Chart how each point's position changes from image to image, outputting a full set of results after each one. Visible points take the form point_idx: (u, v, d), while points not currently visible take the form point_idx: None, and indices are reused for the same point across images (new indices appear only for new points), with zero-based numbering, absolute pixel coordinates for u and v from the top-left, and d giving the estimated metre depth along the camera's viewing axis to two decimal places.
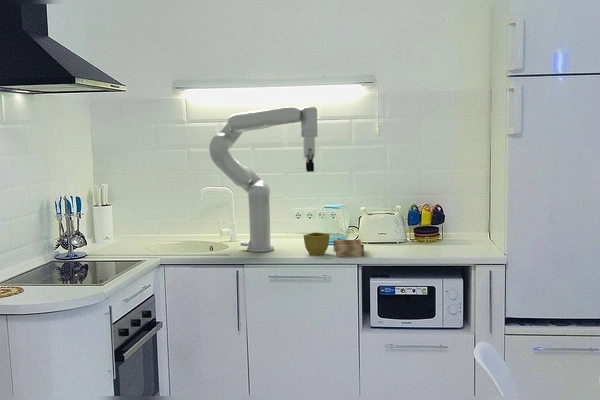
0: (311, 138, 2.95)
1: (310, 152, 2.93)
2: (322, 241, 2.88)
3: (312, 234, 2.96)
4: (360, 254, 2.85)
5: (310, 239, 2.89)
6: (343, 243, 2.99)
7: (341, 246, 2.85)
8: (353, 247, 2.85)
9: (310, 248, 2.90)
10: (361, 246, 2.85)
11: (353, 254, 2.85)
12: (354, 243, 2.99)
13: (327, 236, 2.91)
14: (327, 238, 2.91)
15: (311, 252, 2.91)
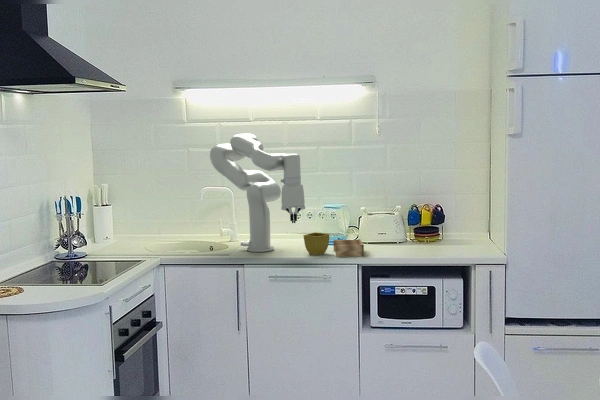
0: None
1: (304, 205, 2.90)
2: (322, 241, 2.88)
3: (312, 234, 2.96)
4: (360, 254, 2.85)
5: (310, 239, 2.89)
6: (343, 243, 2.99)
7: (341, 246, 2.85)
8: (353, 247, 2.85)
9: (310, 248, 2.90)
10: (361, 246, 2.85)
11: (353, 254, 2.85)
12: (354, 243, 2.99)
13: (327, 236, 2.91)
14: (327, 238, 2.91)
15: (311, 252, 2.91)
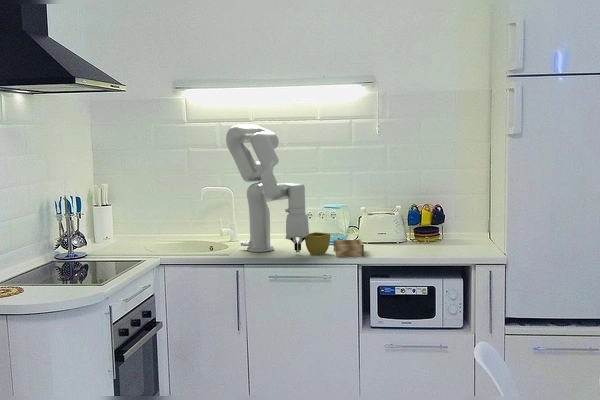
0: (306, 215, 2.91)
1: None
2: (323, 241, 2.88)
3: (313, 234, 2.96)
4: (360, 254, 2.85)
5: (311, 239, 2.89)
6: (343, 243, 2.99)
7: (341, 246, 2.85)
8: (353, 247, 2.85)
9: (311, 248, 2.90)
10: (361, 246, 2.85)
11: (353, 254, 2.85)
12: (354, 243, 2.99)
13: (328, 236, 2.91)
14: (328, 238, 2.91)
15: (312, 252, 2.91)
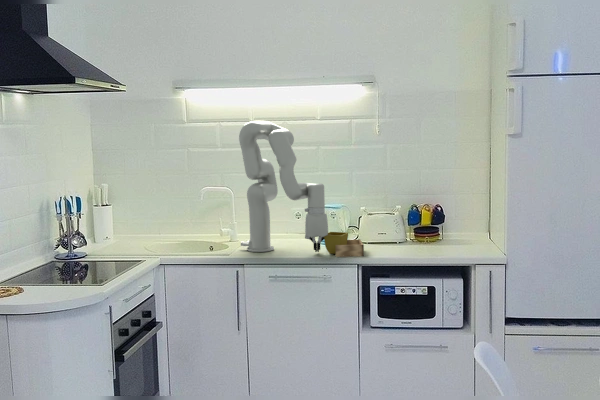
0: None
1: None
2: (343, 240, 2.90)
3: (329, 233, 2.96)
4: (360, 254, 2.85)
5: (331, 238, 2.89)
6: None
7: (341, 246, 2.85)
8: (353, 247, 2.85)
9: (331, 247, 2.90)
10: (361, 246, 2.85)
11: (353, 254, 2.85)
12: (354, 243, 2.99)
13: (346, 235, 2.93)
14: (346, 237, 2.93)
15: (331, 251, 2.91)
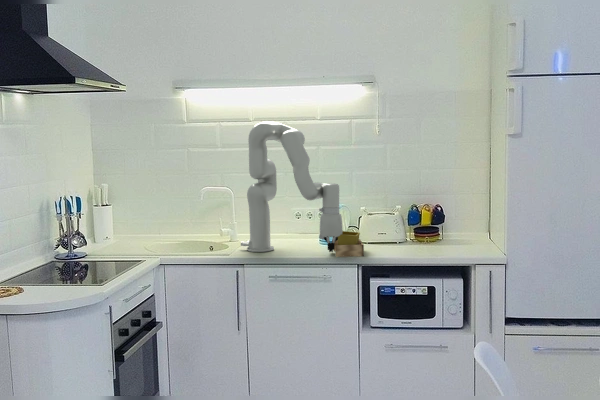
0: None
1: None
2: (357, 240, 2.91)
3: None
4: (360, 254, 2.85)
5: (346, 238, 2.89)
6: None
7: (341, 246, 2.85)
8: (353, 247, 2.85)
9: None
10: (361, 246, 2.85)
11: (353, 254, 2.85)
12: None
13: None
14: (358, 237, 2.94)
15: None
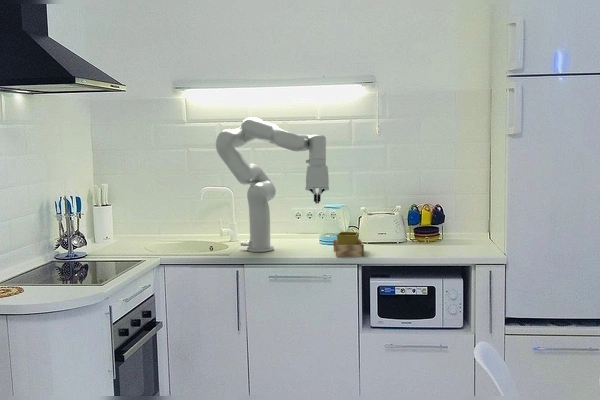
0: None
1: (328, 187, 2.93)
2: (356, 240, 2.91)
3: (340, 233, 2.96)
4: (360, 254, 2.85)
5: (345, 238, 2.89)
6: None
7: (341, 246, 2.85)
8: (353, 247, 2.85)
9: None
10: (361, 246, 2.85)
11: (353, 254, 2.85)
12: None
13: (358, 234, 2.94)
14: (358, 236, 2.94)
15: None
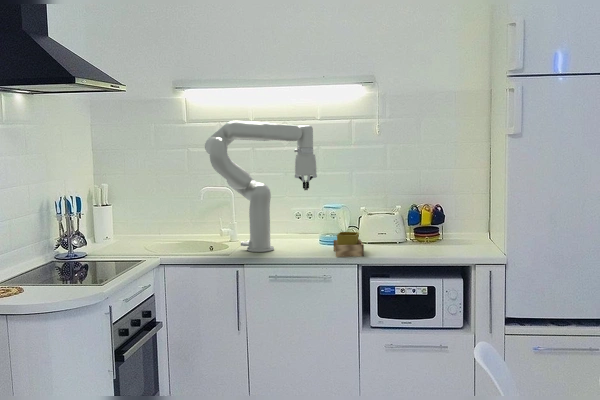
0: None
1: (316, 174, 3.10)
2: (356, 240, 2.91)
3: (340, 233, 2.96)
4: (360, 254, 2.85)
5: (345, 238, 2.89)
6: None
7: (341, 246, 2.85)
8: (353, 247, 2.85)
9: None
10: (361, 246, 2.85)
11: (353, 254, 2.85)
12: None
13: (358, 234, 2.94)
14: (358, 236, 2.94)
15: None
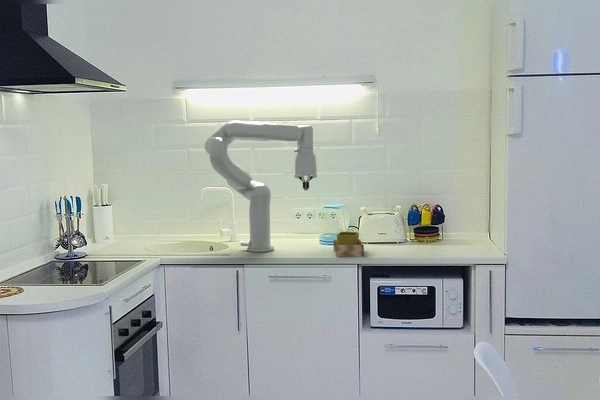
0: None
1: (316, 174, 3.10)
2: (356, 240, 2.91)
3: (340, 234, 2.96)
4: (360, 254, 2.85)
5: (345, 238, 2.89)
6: None
7: (341, 246, 2.85)
8: (353, 247, 2.85)
9: None
10: (361, 246, 2.85)
11: (353, 254, 2.85)
12: None
13: (358, 234, 2.94)
14: (358, 236, 2.94)
15: None
